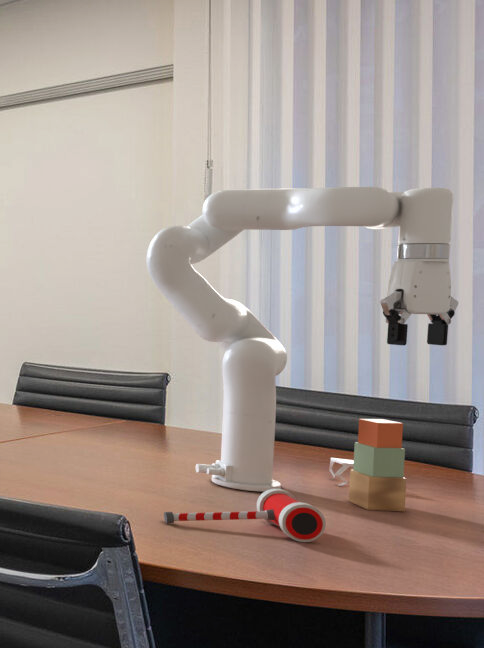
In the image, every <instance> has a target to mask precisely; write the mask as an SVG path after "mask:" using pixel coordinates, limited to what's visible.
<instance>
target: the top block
mask: <svg viewBox="0 0 484 648" xmlns="http://www.w3.org/2000/svg"><path fill="white" fill-rule="evenodd" d="M403 431H404V423H403V422H400V421H393V420H390V419H384V418H359V419H358V433H357V442H358V443H360V444H364V445H368V446H372V447H376V448H403V433H404V432H403Z"/></svg>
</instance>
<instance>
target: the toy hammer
mask: <svg viewBox="0 0 484 648" xmlns="http://www.w3.org/2000/svg"><path fill="white" fill-rule="evenodd" d="M163 518H164V519H163V520H164V522H165V524H174V522H193V521H194V522H195V521H197V522H199V521H231V520H232V521H237V520H239V521H240V520H264V521H265V522H267V523H268V524H271V525H273V526H278V527H279V528H280V530H281V531H282V532H283V534H284V535H286V536H287V537H288V538H290V539H292V540H294V541H295V542H299V543H310V542H313V541H316V540H318V539H319V538H320V537H321V536H322V535H323V534H324V532H325V531H326V525H327V524H326V519H325V516H324V514H323V513H322V511H320V510H319V509H318V508H317V507H315V506H313V505H311V504H310V503H307V502H302V501H299V499H298V498H297V497H296V496H294V494H292V493H290V492H289V491H287V490H285V489H282V488H281V489H269V490H267V491H265V492H262V493H261V494H260V495H259V497H258V498H257V501H256V511H255V510H253V511H250V510H249V511H218V512H217V511H216V512H215V511H213V512H181V513H173V511H164V512H163Z"/></svg>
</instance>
